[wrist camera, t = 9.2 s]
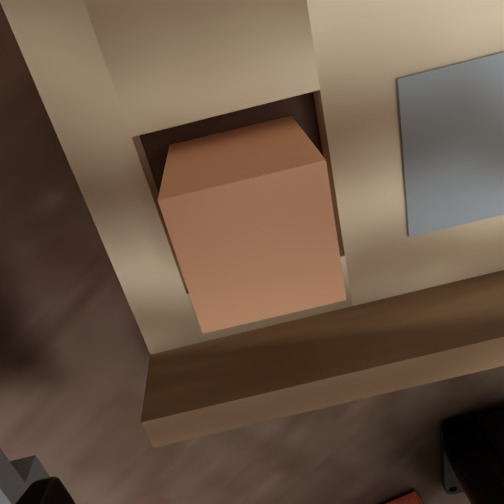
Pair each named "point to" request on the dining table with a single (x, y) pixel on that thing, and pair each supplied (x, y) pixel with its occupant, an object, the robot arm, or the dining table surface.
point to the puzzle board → (340, 179)
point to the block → (252, 223)
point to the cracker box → (407, 499)
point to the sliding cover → (18, 476)
